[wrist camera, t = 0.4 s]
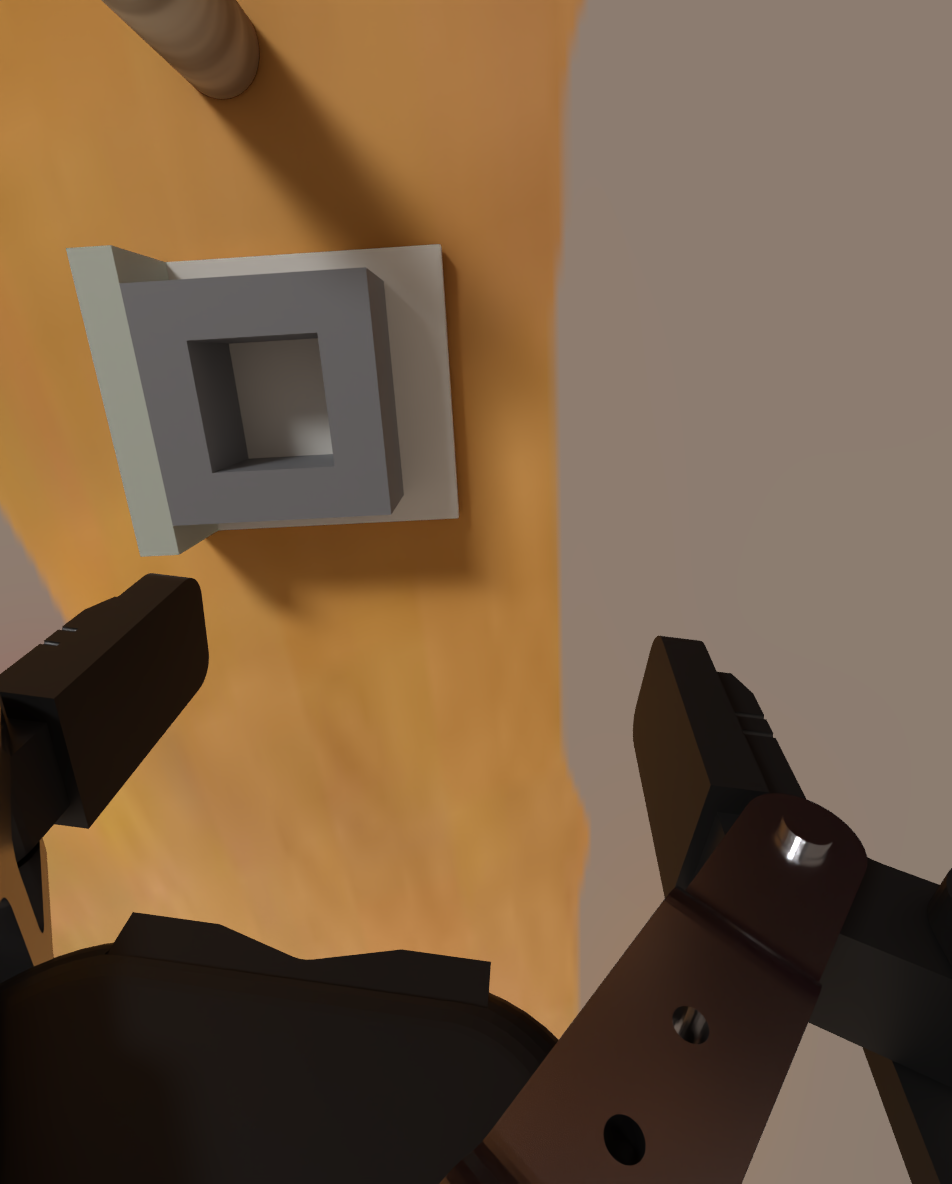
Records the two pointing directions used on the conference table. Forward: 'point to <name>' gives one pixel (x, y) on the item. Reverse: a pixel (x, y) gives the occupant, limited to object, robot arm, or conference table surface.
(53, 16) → the conference table surface
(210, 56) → the dowel
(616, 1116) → the robot arm
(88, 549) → the conference table surface
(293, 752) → the conference table surface
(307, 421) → the dowel dock
